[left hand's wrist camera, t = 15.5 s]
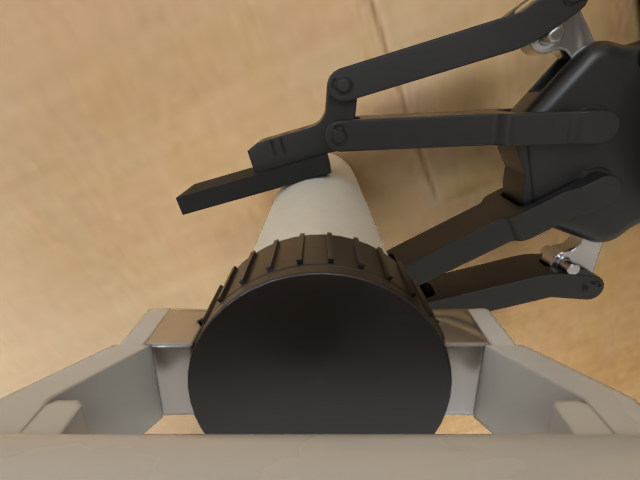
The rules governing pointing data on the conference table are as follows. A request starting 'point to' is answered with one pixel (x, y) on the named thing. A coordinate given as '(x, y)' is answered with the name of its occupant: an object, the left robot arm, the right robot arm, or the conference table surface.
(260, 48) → the conference table surface
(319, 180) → the white bottle
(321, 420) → the lid
